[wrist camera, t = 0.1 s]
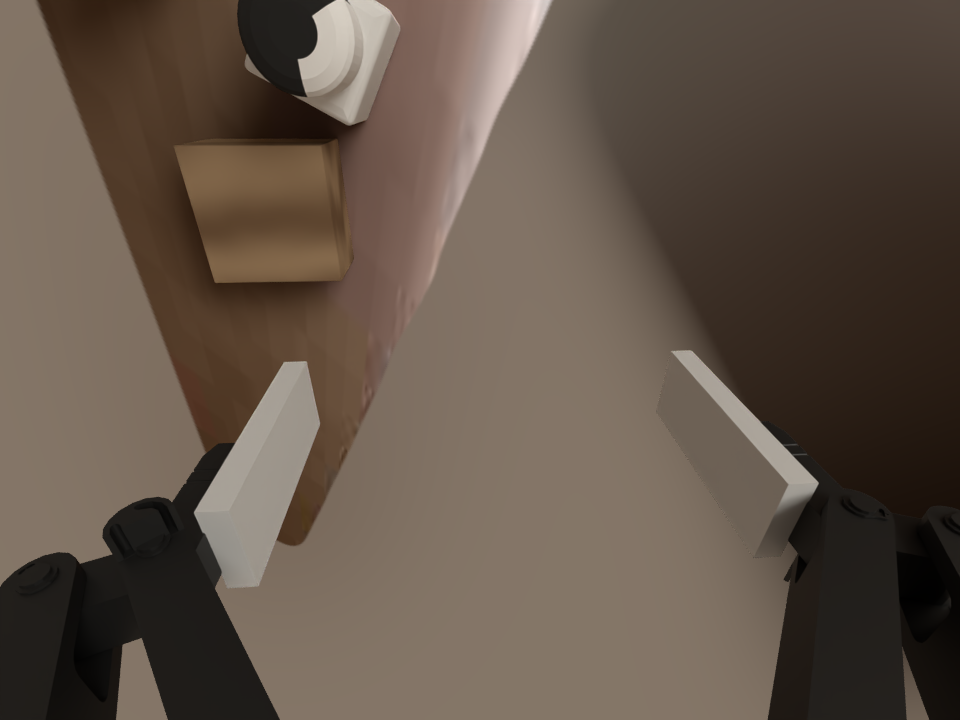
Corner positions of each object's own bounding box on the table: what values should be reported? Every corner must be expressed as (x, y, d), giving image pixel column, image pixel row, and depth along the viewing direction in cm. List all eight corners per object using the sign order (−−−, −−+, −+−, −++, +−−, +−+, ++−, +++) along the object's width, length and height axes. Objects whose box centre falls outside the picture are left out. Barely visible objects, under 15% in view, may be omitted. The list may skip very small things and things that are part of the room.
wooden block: (211, 138, 37) (173, 145, 31) (338, 138, 37) (320, 145, 32) (243, 259, 42) (215, 282, 37) (354, 257, 42) (341, 280, 37)
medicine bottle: (277, 72, 35) (205, 63, 24) (307, -35, 32) (239, -98, 21) (366, 122, 37) (336, 133, 26) (402, 26, 34) (383, -4, 23)
